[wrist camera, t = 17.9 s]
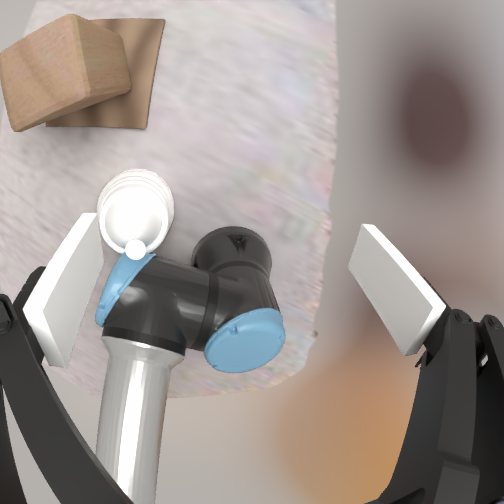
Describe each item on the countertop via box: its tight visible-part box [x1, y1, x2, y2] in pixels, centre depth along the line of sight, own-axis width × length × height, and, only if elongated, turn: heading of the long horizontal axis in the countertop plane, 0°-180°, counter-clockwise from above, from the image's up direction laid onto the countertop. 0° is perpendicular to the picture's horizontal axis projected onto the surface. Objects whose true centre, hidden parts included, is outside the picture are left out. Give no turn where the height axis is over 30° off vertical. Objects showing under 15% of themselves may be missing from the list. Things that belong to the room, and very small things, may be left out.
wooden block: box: [0, 14, 131, 132], centre depth 27 cm, size 10×10×20 cm
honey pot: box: [97, 168, 175, 260], centre depth 42 cm, size 13×13×18 cm
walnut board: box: [46, 18, 165, 129], centre depth 36 cm, size 18×18×2 cm
